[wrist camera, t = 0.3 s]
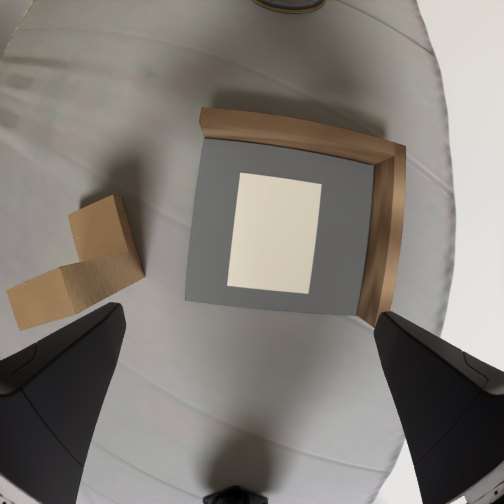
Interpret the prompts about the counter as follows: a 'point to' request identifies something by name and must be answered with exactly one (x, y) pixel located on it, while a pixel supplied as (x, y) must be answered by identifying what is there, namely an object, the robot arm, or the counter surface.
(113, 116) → the counter surface
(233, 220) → the mat
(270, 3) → the apothecary jar
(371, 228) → the corner walls
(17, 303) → the wooden l-shaped block
